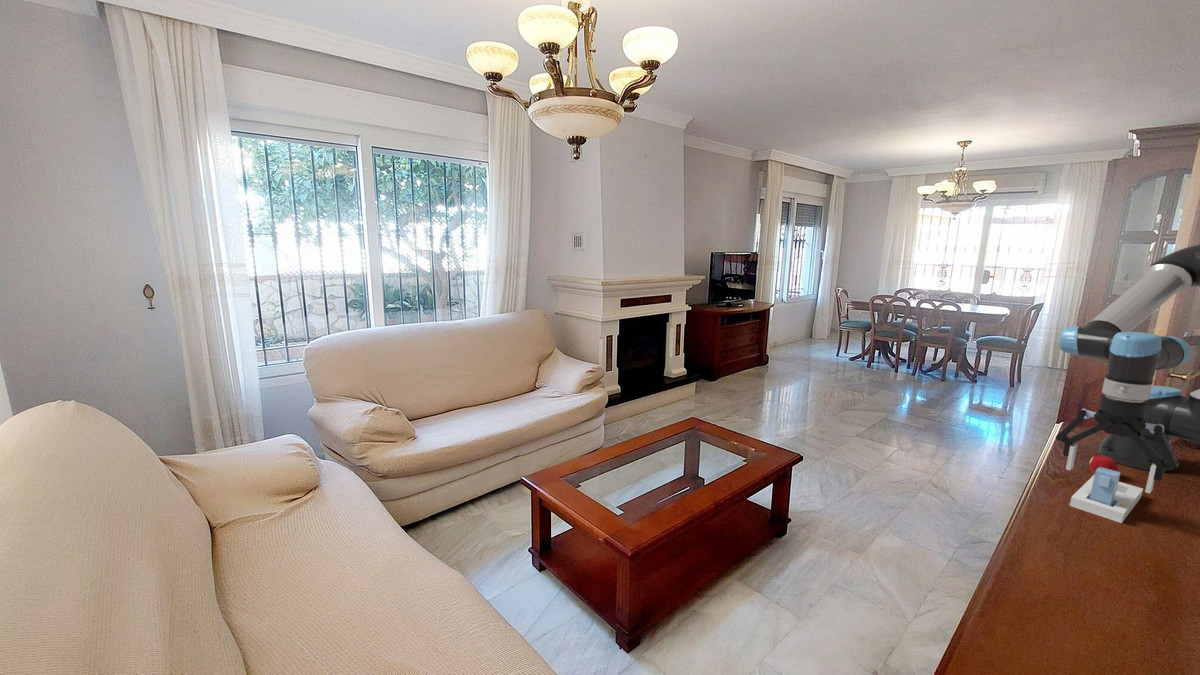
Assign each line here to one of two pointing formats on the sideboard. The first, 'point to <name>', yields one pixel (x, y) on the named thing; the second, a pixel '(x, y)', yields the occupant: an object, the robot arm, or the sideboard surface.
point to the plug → (1105, 486)
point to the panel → (1119, 511)
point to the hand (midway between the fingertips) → (1107, 479)
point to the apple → (1102, 463)
